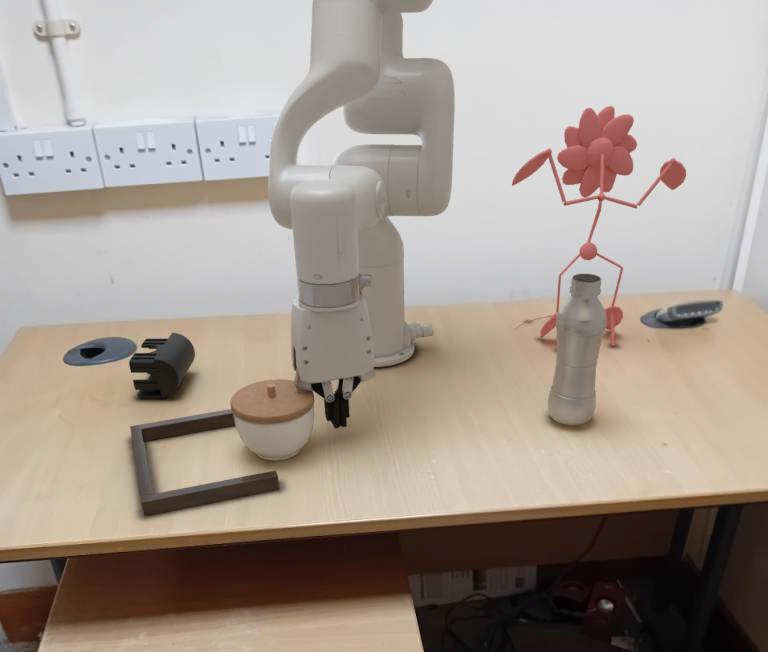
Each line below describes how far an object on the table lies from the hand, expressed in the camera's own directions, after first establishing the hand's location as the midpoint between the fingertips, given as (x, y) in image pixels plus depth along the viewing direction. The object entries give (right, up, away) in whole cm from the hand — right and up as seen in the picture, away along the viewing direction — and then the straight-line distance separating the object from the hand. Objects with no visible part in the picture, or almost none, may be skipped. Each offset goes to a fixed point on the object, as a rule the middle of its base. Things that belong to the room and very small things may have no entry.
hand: (337, 423), depth 106 cm
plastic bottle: (+32, +1, +4) cm, 32 cm away
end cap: (-27, +7, +16) cm, 33 cm away
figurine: (+39, +19, +29) cm, 52 cm away
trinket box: (-8, -4, 0) cm, 9 cm away
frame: (-18, -6, -3) cm, 19 cm away
